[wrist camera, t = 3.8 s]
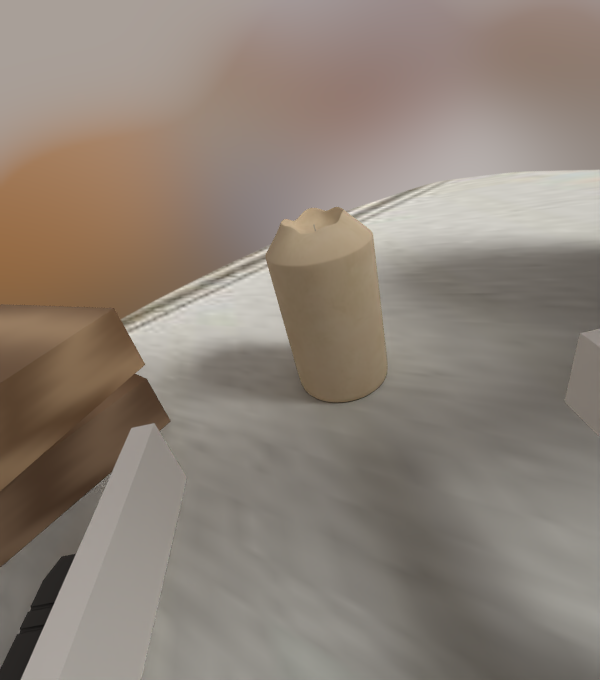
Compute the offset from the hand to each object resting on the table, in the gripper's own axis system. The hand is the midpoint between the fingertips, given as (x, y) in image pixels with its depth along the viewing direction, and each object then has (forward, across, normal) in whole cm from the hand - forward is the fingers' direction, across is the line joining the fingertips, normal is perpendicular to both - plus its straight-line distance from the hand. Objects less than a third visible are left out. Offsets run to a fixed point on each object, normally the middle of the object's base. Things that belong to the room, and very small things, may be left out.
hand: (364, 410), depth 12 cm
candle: (+10, 0, -6) cm, 12 cm away
